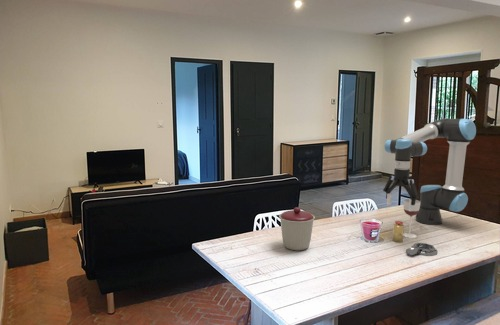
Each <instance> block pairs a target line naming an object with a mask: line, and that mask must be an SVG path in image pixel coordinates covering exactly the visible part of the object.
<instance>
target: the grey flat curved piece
mask: <svg viewBox="0 0 500 325" xmlns="http://www.w3.org/2000/svg"><path fill="white" fill-rule="evenodd" d="M405 253H406V255H407V256H409V257H410V256H414V255H416V254H417V255H419V256H425V257H427V256H428V257H431V256H436V255H437V254H438V250H437V249H436V248H435V246H434V245H432V244H429V243H426V242H416V243H413V245H411V246H410V247H408V248H406V249H405Z"/></svg>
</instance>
